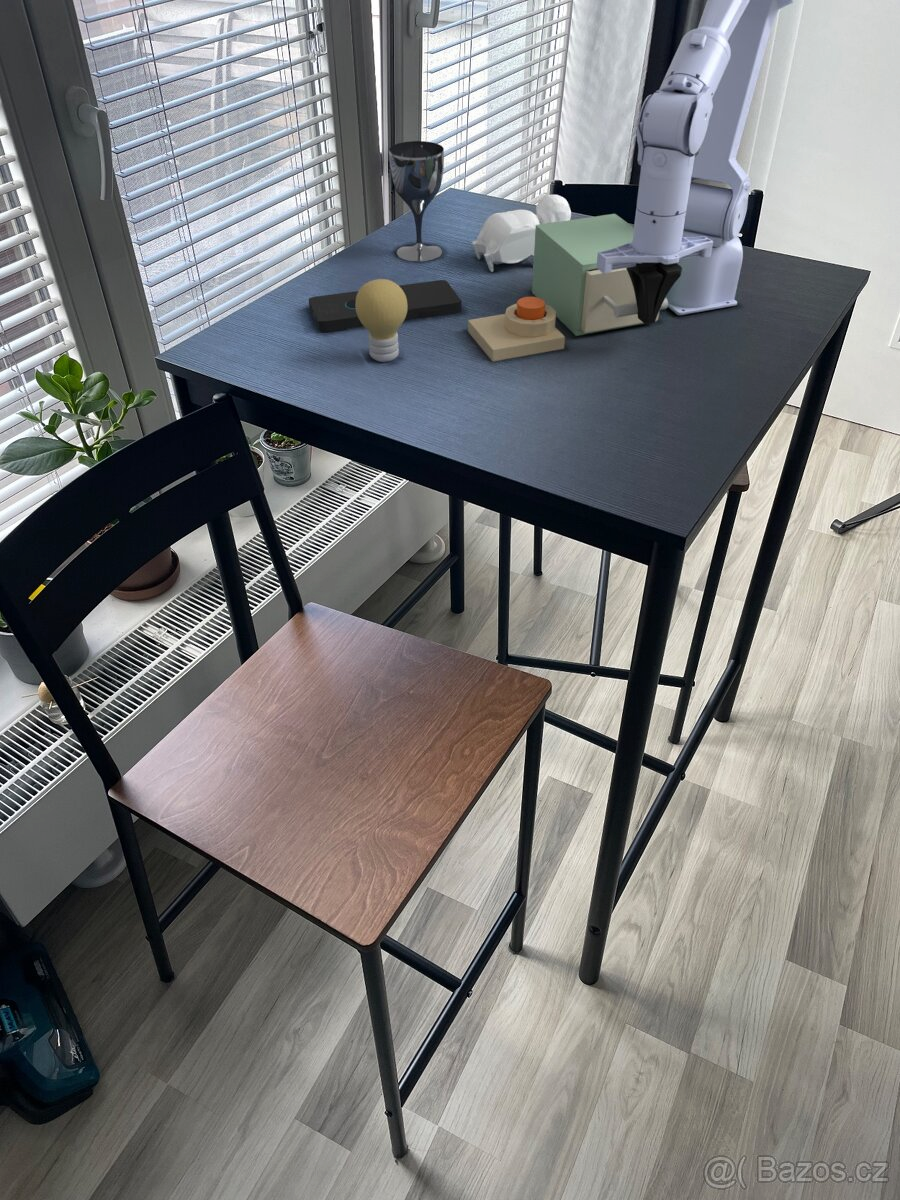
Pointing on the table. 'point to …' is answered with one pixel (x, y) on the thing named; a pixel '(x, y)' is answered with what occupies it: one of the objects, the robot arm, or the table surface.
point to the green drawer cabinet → (573, 262)
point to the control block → (516, 334)
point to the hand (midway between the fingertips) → (646, 320)
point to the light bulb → (382, 316)
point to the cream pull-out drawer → (609, 301)
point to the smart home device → (420, 300)
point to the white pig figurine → (517, 231)
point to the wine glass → (417, 188)
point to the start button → (530, 308)
